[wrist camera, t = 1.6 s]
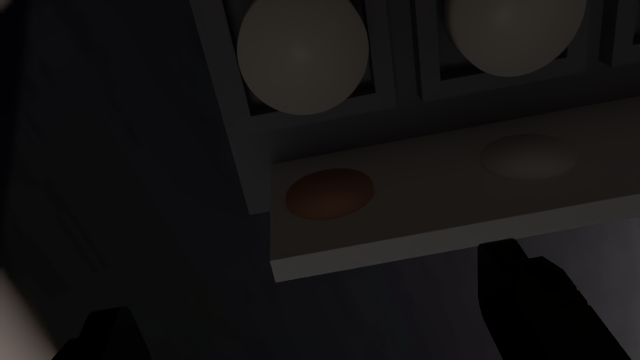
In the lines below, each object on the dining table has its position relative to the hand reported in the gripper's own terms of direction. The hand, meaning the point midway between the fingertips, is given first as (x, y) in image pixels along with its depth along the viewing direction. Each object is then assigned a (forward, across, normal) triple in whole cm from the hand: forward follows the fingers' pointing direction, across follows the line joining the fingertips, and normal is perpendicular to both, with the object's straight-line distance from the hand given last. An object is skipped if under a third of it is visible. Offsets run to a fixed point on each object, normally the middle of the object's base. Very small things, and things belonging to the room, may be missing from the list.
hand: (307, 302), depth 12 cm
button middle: (+16, -11, -2) cm, 20 cm away
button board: (+21, -11, 0) cm, 24 cm away
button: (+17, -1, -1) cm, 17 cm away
